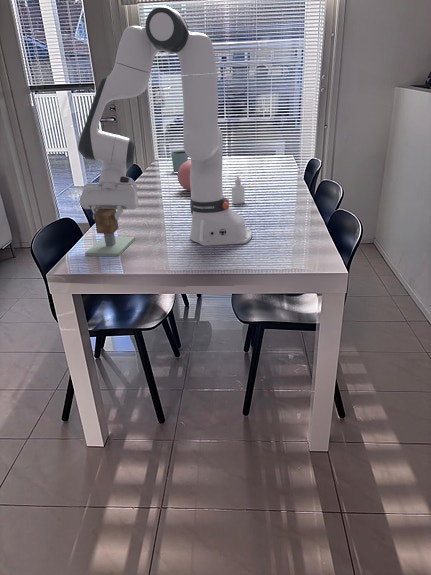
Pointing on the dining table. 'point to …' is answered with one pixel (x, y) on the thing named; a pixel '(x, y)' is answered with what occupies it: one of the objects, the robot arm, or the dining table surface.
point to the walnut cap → (105, 221)
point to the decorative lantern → (185, 175)
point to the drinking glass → (178, 159)
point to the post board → (110, 246)
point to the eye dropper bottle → (238, 192)
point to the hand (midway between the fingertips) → (105, 219)
